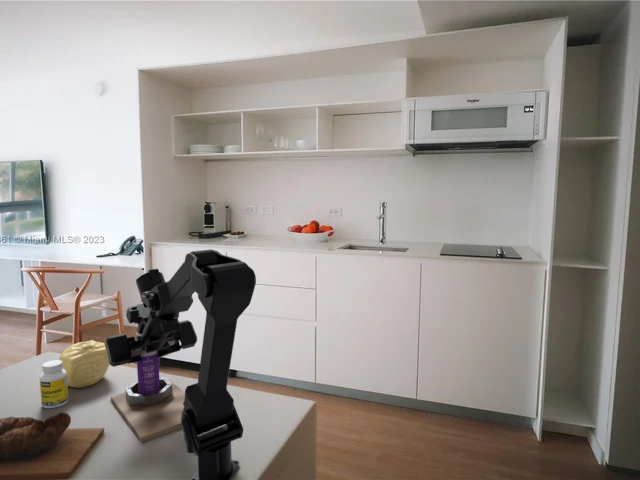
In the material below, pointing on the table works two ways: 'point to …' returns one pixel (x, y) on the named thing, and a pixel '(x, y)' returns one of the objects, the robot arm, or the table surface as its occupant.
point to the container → (148, 372)
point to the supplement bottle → (53, 384)
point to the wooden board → (152, 414)
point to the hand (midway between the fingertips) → (145, 359)
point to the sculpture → (85, 363)
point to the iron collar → (151, 398)
